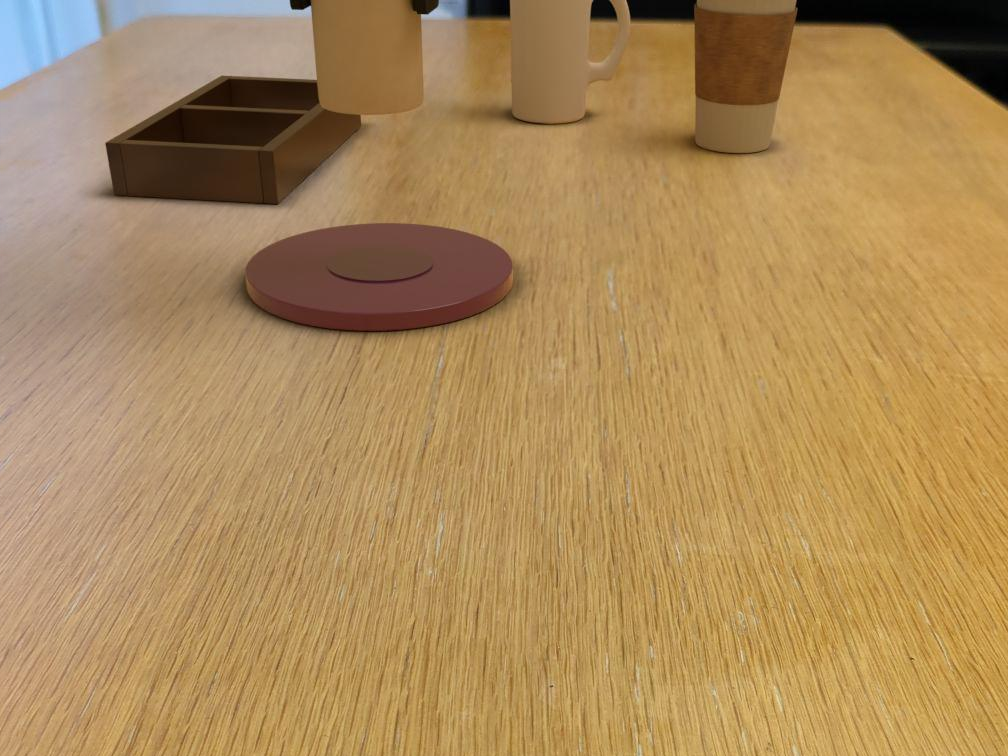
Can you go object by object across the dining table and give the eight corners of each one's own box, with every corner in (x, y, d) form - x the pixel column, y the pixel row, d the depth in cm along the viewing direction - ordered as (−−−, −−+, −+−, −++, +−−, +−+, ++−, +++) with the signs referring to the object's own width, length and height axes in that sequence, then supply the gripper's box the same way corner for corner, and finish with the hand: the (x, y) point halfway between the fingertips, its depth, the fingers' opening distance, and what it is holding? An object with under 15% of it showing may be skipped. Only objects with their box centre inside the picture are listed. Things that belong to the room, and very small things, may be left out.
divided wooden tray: (113, 195, 82) (104, 142, 80) (226, 119, 100) (221, 75, 99) (278, 204, 81) (272, 151, 79) (361, 126, 99) (358, 81, 97)
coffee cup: (760, 163, 91) (785, -57, 83) (661, 146, 95) (675, -66, 87) (801, 140, 97) (828, -67, 89) (706, 126, 101) (723, -75, 93)
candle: (300, 111, 62) (280, -109, 57) (347, 89, 67) (333, -117, 61) (398, 120, 61) (387, -104, 56) (440, 97, 65) (433, -112, 60)
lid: (207, 321, 63) (204, 301, 63) (293, 232, 76) (291, 214, 75) (489, 340, 62) (489, 319, 61) (529, 245, 74) (529, 228, 74)
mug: (511, 125, 100) (511, -34, 94) (506, 106, 106) (506, -45, 100) (631, 124, 101) (640, -33, 95) (619, 106, 107) (627, -44, 100)
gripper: (549, -437, 54) (543, 3, 64) (179, -436, 56) (228, -9, 65) (526, -466, 48) (523, 27, 57) (109, -464, 49) (174, 14, 59)
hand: (365, 4), depth 61 cm, fingers closed on candle, 5 cm apart
